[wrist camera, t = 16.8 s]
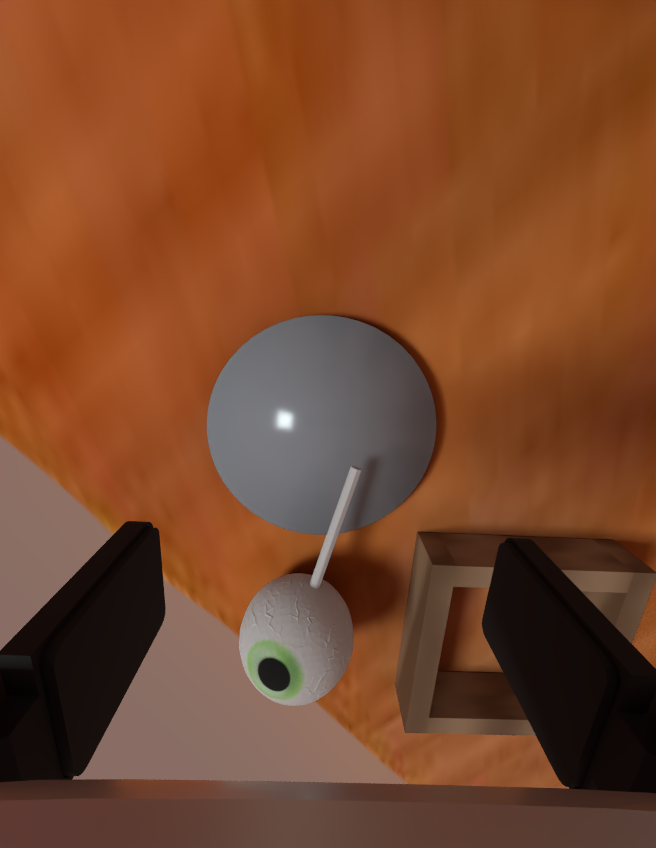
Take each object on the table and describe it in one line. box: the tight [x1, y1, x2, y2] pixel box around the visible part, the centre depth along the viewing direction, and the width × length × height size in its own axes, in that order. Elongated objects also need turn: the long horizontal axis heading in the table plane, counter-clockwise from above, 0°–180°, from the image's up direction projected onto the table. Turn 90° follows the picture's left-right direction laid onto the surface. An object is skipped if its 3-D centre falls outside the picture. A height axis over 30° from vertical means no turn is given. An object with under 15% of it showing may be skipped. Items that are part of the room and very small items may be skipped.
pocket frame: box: [395, 532, 656, 736], centre depth 25 cm, size 14×14×4 cm
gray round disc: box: [207, 315, 436, 535], centre depth 22 cm, size 14×14×1 cm
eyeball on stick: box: [239, 466, 362, 705], centre depth 22 cm, size 7×7×15 cm
